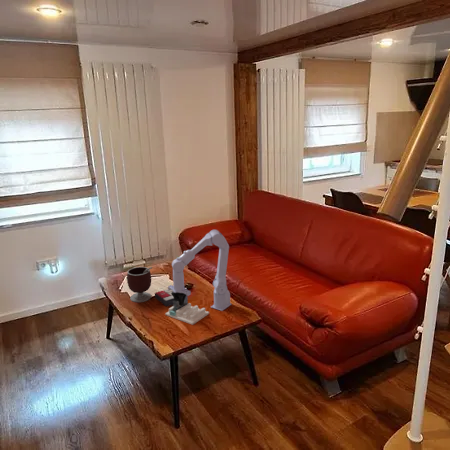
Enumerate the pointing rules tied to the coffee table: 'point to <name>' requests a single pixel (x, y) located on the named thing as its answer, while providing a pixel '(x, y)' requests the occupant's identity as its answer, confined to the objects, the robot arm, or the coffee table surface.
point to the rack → (188, 313)
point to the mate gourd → (139, 283)
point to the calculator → (165, 297)
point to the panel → (177, 303)
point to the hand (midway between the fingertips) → (179, 304)
